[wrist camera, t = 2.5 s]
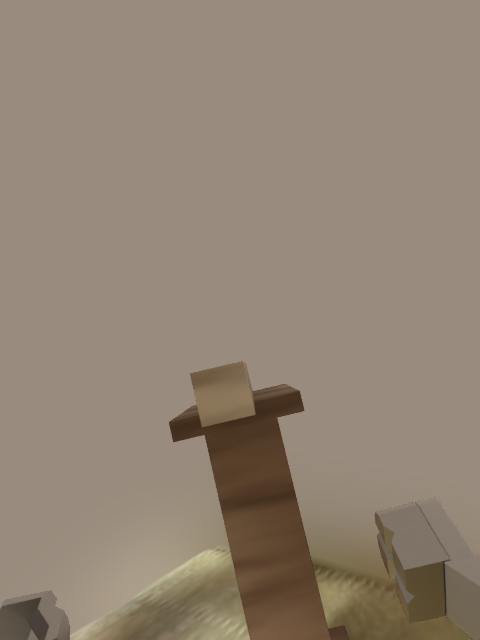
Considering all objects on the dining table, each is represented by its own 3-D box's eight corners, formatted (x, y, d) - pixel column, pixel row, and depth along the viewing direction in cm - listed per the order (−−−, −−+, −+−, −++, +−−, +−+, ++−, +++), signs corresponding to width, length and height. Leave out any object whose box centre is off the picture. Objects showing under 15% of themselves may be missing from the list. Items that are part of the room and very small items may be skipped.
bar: (255, 414, 25) (242, 361, 25) (202, 427, 25) (189, 373, 25) (252, 392, 47) (245, 363, 47) (224, 398, 47) (217, 370, 47)
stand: (392, 764, 31) (299, 390, 34) (250, 798, 31) (168, 422, 34) (347, 640, 45) (284, 383, 48) (249, 664, 45) (192, 405, 48)
